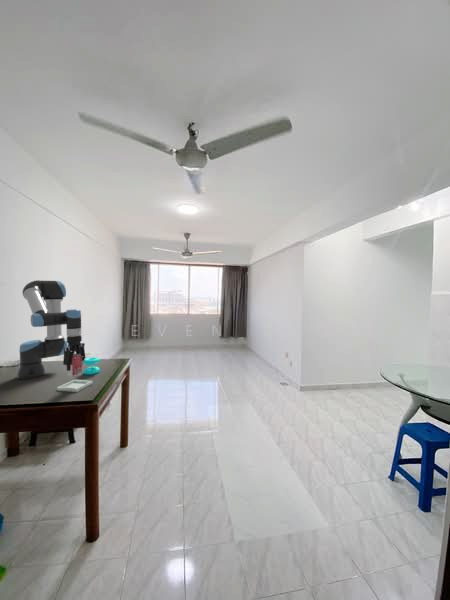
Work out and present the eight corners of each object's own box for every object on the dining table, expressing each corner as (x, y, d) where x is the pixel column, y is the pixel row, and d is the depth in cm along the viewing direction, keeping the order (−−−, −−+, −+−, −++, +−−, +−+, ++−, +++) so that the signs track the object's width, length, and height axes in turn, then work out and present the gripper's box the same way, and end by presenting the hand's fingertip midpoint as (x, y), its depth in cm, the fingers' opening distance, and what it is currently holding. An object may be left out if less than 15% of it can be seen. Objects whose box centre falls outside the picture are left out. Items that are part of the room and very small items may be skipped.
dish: (56, 390, 144) (56, 387, 144) (74, 382, 157) (74, 379, 157) (76, 392, 142) (76, 389, 142) (92, 383, 155) (92, 381, 155)
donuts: (80, 360, 171) (89, 356, 181) (80, 374, 171) (89, 370, 181) (93, 360, 170) (102, 357, 180) (94, 375, 170) (102, 370, 180)
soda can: (72, 372, 152) (71, 353, 152) (84, 372, 153) (83, 353, 153) (65, 376, 145) (65, 356, 145) (78, 376, 146) (77, 355, 146)
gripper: (66, 338, 138) (67, 379, 139) (91, 332, 158) (92, 368, 158) (54, 338, 139) (55, 379, 140) (81, 332, 159) (82, 368, 160)
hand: (75, 373), depth 149 cm, fingers closed on soda can, 7 cm apart
